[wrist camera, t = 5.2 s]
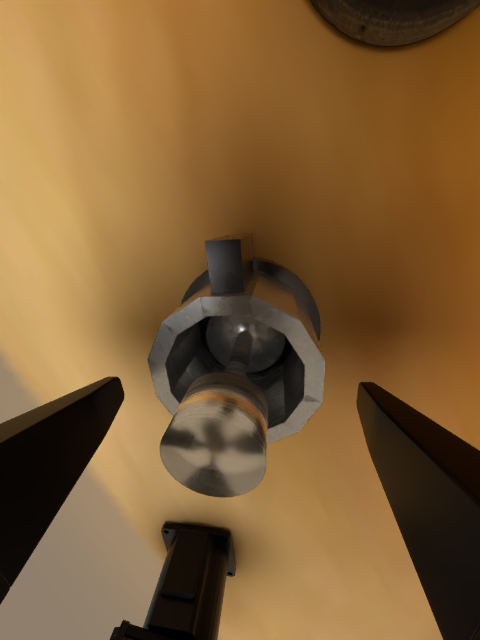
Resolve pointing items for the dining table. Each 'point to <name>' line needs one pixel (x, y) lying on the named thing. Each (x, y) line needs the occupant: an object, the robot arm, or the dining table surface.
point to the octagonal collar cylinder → (259, 303)
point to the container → (393, 18)
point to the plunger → (224, 413)
